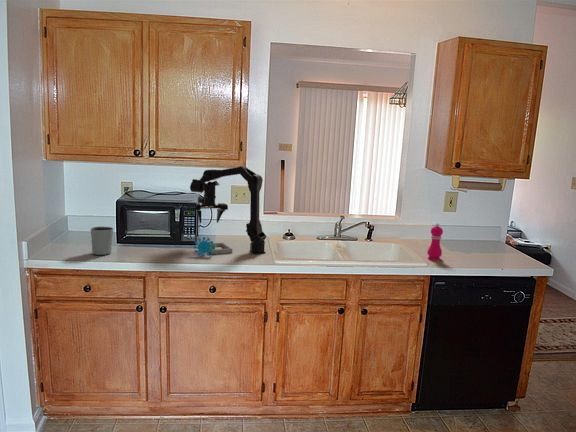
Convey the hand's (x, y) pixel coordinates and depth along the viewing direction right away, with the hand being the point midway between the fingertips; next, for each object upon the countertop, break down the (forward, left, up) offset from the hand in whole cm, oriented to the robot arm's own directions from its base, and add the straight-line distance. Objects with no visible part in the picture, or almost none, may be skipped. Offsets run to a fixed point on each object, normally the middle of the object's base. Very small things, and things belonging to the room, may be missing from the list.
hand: (208, 222), depth 255 cm
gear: (+8, +20, -14) cm, 26 cm away
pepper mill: (-104, +58, -13) cm, 120 cm away
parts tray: (-2, +10, -13) cm, 17 cm away
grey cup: (+53, 0, -13) cm, 55 cm away
